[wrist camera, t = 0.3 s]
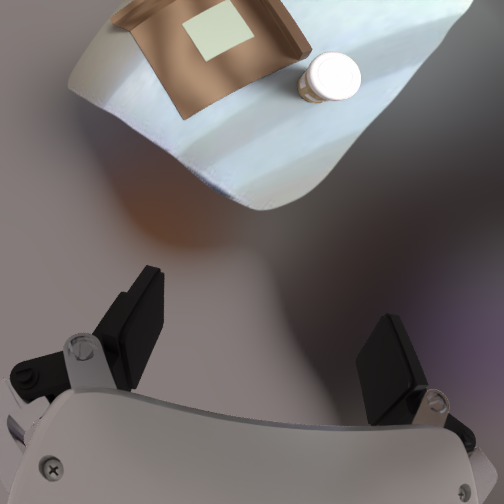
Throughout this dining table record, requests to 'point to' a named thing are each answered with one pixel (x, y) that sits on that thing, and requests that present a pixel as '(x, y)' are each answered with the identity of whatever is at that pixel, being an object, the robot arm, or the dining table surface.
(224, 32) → the sage pad
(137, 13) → the tray
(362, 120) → the dining table surface
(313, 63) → the sprinkles bottle
